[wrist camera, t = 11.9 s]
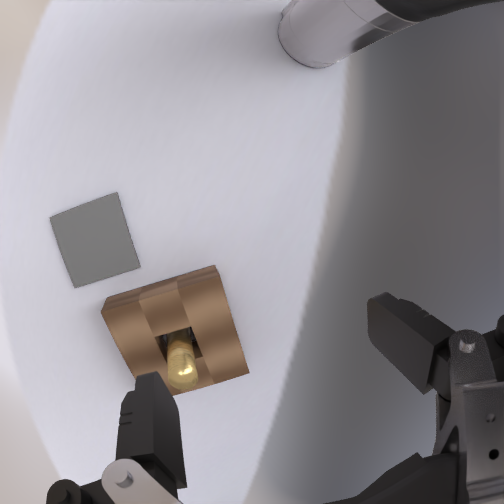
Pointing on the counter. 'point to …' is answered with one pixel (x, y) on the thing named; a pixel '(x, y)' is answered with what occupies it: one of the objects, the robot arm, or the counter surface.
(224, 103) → the counter surface
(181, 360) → the brass pin
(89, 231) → the rubber mat
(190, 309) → the walnut block
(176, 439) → the robot arm
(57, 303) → the counter surface
